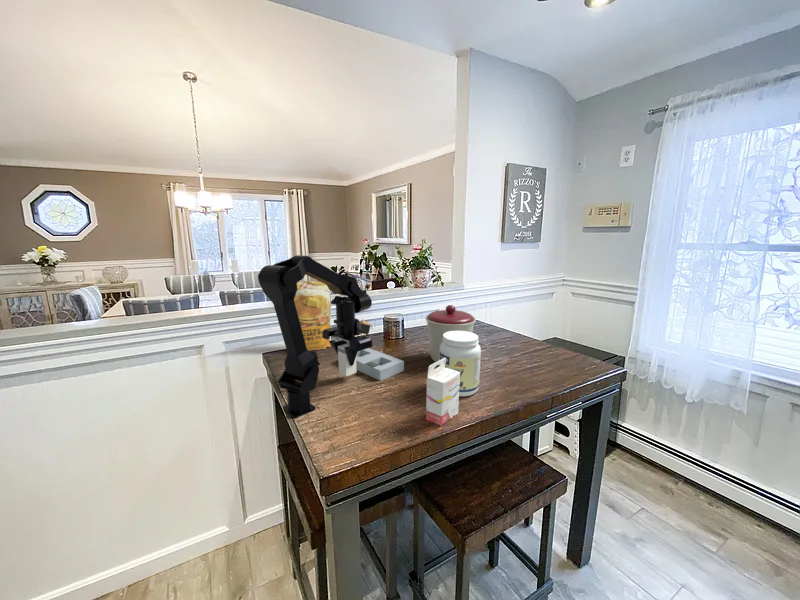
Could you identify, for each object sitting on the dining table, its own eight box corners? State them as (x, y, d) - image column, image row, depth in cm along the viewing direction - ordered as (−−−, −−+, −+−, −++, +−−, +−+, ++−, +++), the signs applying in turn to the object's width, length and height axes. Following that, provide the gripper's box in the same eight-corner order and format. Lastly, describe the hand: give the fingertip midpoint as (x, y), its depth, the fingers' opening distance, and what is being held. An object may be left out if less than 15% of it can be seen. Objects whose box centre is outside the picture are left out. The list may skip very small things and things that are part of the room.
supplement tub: (431, 391, 100) (432, 337, 96) (448, 376, 110) (450, 327, 106) (469, 402, 93) (472, 345, 89) (484, 385, 103) (487, 333, 99)
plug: (356, 372, 107) (355, 345, 105) (346, 376, 104) (345, 349, 102) (348, 368, 109) (348, 342, 107) (338, 372, 106) (337, 346, 105)
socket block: (403, 370, 114) (404, 360, 113) (380, 380, 106) (380, 369, 106) (362, 354, 129) (362, 345, 128) (339, 362, 121) (339, 352, 121)
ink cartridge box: (442, 427, 81) (443, 371, 78) (425, 420, 84) (426, 366, 81) (459, 412, 88) (461, 360, 85) (443, 406, 91) (444, 356, 88)
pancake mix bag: (285, 349, 135) (280, 281, 129) (332, 343, 141) (329, 278, 136) (285, 354, 129) (280, 283, 123) (334, 348, 135) (332, 281, 130)
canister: (419, 367, 117) (420, 309, 113) (430, 350, 134) (431, 299, 129) (471, 373, 112) (474, 313, 107) (475, 354, 129) (478, 301, 124)
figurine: (371, 343, 142) (370, 316, 140) (374, 347, 137) (374, 319, 134) (351, 345, 140) (351, 317, 137) (354, 350, 134) (353, 321, 131)
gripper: (385, 316, 102) (385, 364, 105) (348, 307, 115) (349, 350, 118) (356, 324, 94) (358, 375, 97) (320, 313, 107) (322, 358, 110)
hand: (347, 363), depth 106 cm, fingers closed on plug, 4 cm apart
